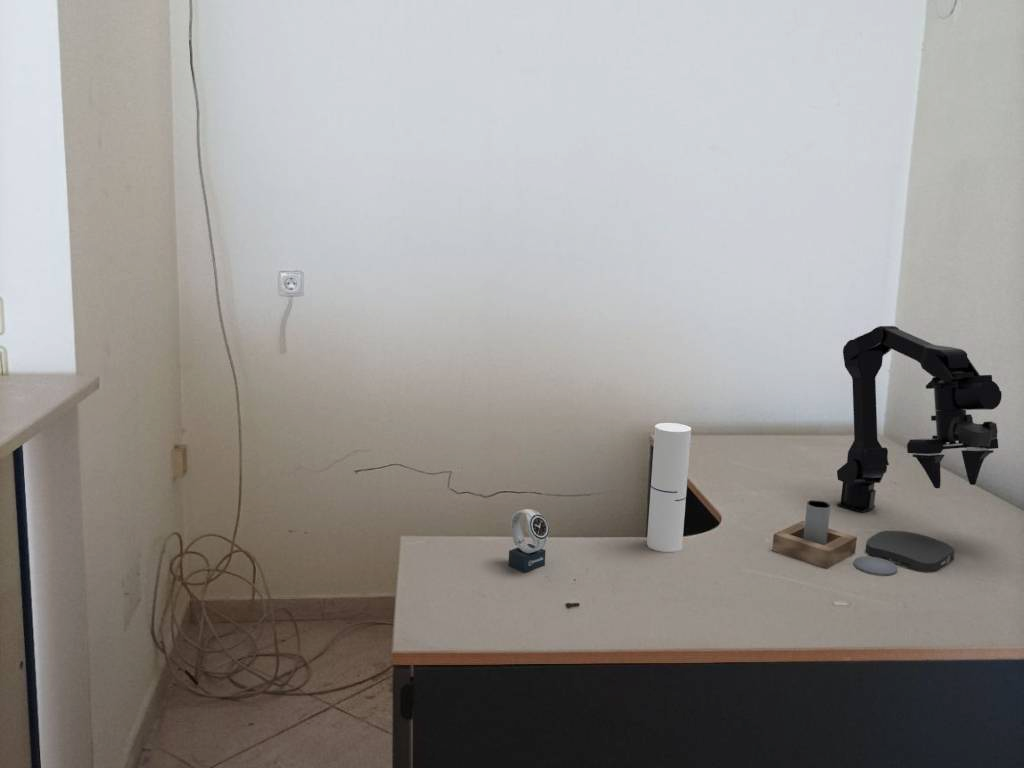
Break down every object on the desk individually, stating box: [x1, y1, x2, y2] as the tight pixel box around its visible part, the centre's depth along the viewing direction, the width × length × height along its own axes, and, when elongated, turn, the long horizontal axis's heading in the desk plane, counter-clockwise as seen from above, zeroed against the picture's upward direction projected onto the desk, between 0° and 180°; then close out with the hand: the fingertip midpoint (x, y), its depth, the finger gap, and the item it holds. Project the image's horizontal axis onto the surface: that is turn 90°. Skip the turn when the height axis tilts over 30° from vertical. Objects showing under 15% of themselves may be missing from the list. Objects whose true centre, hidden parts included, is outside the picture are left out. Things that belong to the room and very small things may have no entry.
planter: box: [803, 499, 831, 545], centre depth 188 cm, size 4×4×10 cm
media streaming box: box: [865, 530, 956, 573], centre depth 189 cm, size 15×15×3 cm
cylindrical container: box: [646, 422, 692, 553], centre depth 187 cm, size 7×7×25 cm
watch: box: [508, 508, 550, 574], centre depth 176 cm, size 6×8×11 cm
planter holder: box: [771, 520, 858, 569], centre depth 188 cm, size 12×12×4 cm
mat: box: [853, 555, 898, 577], centre depth 182 cm, size 8×8×1 cm
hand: (955, 486), depth 189 cm, fingers open, 9 cm apart
